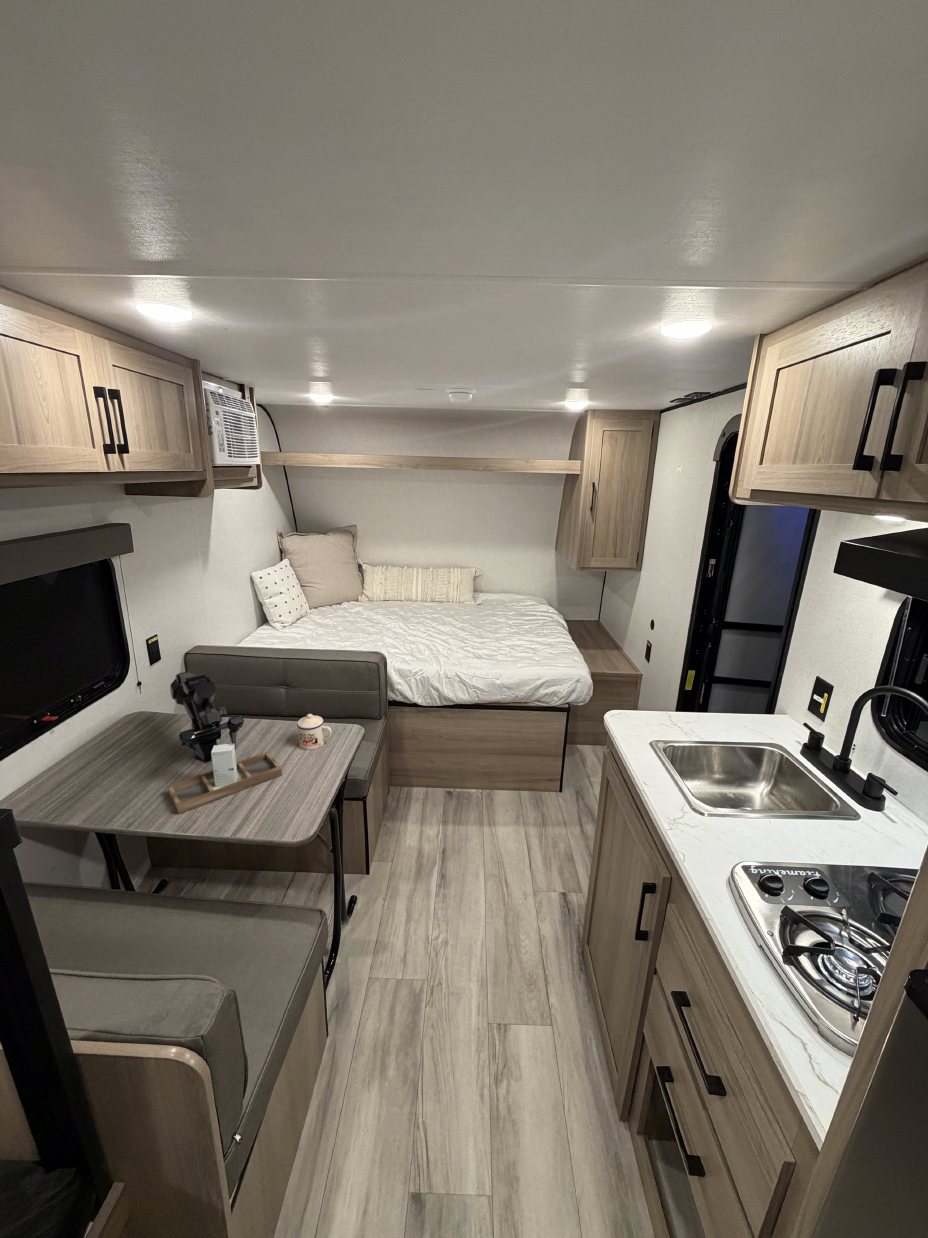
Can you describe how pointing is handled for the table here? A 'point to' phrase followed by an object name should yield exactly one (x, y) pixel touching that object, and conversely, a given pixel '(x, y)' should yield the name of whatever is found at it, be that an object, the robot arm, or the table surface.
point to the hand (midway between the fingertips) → (219, 754)
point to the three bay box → (205, 791)
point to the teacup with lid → (312, 732)
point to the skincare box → (224, 764)
